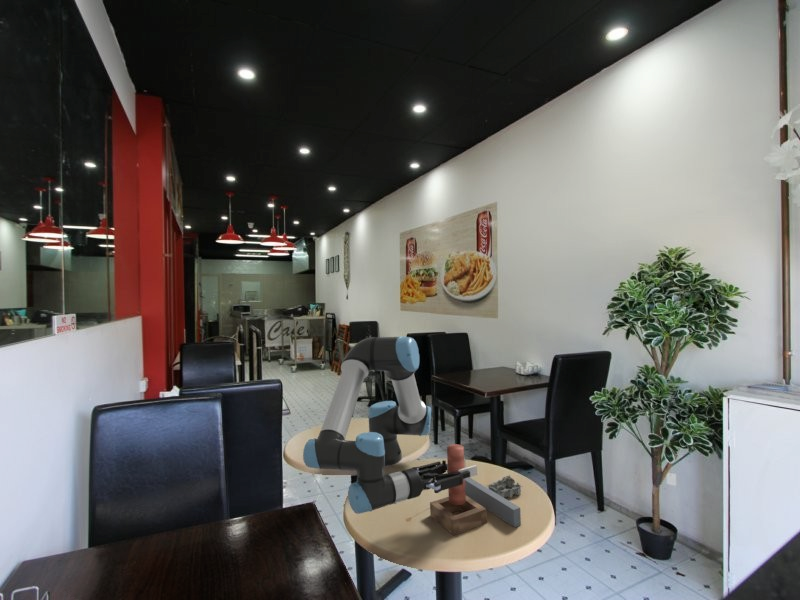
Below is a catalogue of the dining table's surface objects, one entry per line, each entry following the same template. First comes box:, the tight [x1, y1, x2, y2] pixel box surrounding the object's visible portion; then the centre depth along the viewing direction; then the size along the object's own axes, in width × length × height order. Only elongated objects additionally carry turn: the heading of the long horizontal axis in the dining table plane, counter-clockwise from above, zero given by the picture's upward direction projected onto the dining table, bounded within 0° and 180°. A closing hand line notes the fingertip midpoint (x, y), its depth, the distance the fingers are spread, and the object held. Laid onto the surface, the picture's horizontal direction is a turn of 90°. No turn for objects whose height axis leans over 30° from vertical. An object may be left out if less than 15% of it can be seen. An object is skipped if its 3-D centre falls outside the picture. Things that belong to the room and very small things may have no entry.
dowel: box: [446, 443, 466, 505], centre depth 119 cm, size 5×5×16 cm
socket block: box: [429, 495, 488, 536], centre depth 119 cm, size 12×12×4 cm
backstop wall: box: [465, 477, 522, 528], centre depth 126 cm, size 26×2×5 cm, turn 28°
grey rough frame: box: [485, 475, 523, 498], centre depth 134 cm, size 11×8×4 cm
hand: (470, 466), depth 121 cm, fingers closed on dowel, 5 cm apart
